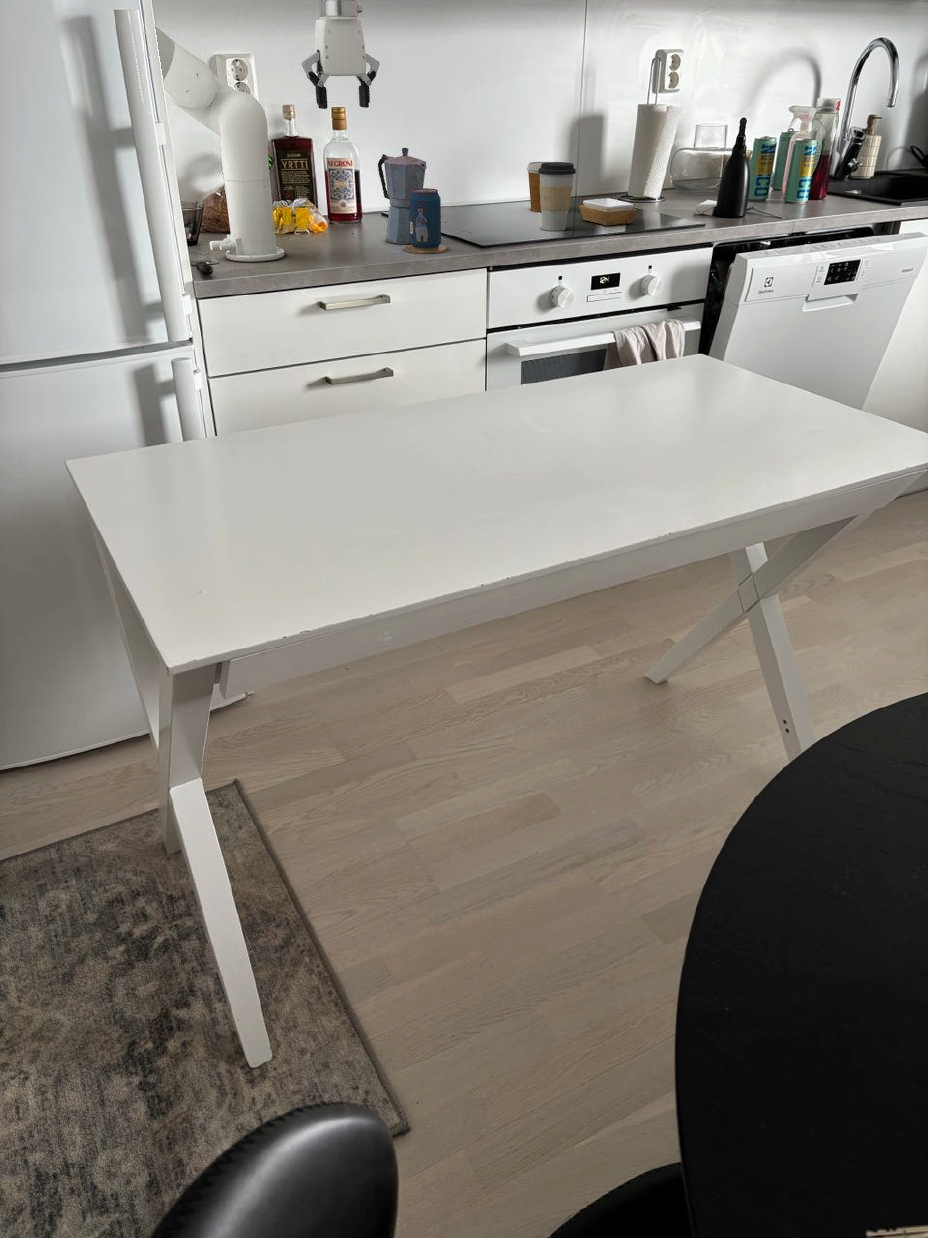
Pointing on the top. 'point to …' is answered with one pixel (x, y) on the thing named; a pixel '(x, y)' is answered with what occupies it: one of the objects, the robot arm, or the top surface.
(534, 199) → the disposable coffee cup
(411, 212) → the soda can
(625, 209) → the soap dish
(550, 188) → the coffee cup
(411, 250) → the coaster
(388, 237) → the moka pot
